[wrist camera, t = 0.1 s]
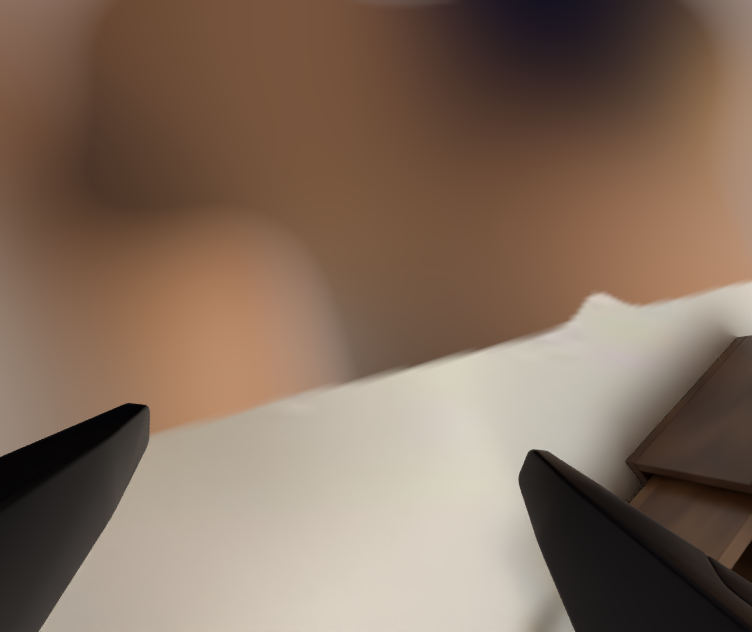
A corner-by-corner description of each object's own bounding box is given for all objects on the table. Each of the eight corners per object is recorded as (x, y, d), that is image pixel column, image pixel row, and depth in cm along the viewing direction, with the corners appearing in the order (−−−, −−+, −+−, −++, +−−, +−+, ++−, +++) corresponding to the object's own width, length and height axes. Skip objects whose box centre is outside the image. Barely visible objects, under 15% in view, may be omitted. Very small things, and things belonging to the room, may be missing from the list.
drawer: (658, 813, 21) (813, 993, 15) (515, 613, 22) (603, 701, 16) (807, 572, 26) (971, 628, 20) (686, 417, 27) (806, 423, 21)
